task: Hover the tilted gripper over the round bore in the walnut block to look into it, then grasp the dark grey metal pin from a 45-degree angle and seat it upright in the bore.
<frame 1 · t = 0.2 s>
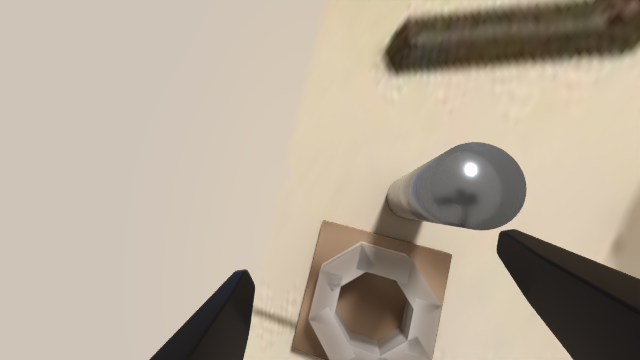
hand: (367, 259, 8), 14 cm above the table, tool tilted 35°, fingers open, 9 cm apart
metal pin: (408, 197, 22), on the table
bore block: (369, 298, 21), on the table
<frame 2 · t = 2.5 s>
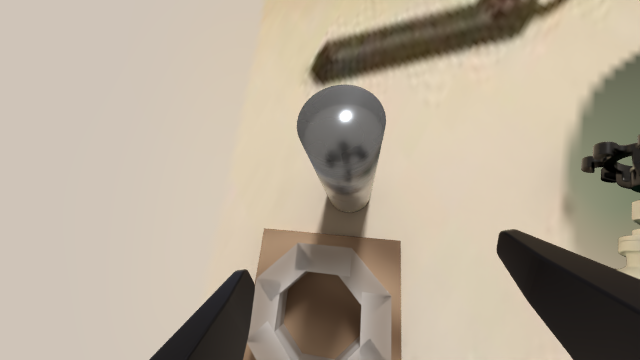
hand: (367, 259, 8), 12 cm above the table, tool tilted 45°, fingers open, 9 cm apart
metal pin: (349, 191, 21), on the table
bore block: (323, 309, 19), on the table
valve: (600, 242, 17), on the table
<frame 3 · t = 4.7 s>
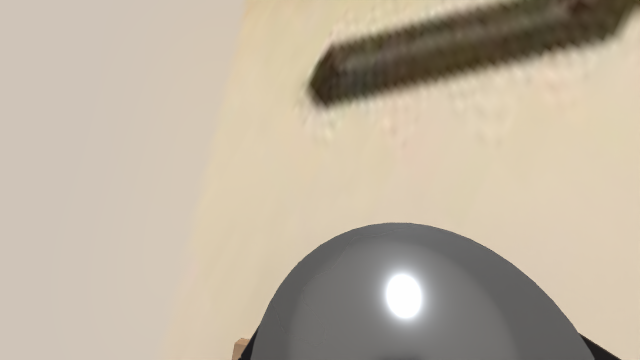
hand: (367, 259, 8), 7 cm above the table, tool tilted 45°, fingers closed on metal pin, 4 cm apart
metal pin: (367, 280, 14), on the table, touching gripper
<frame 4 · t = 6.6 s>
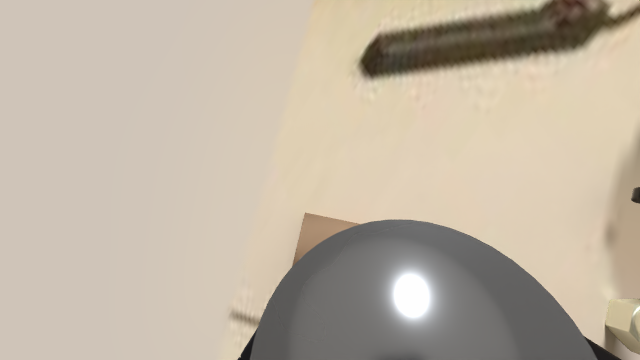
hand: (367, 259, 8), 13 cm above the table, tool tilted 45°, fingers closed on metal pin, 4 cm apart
metal pin: (367, 279, 14), point 7 cm above the table, touching gripper
bore block: (356, 294, 20), on the table
valve: (639, 272, 17), on the table
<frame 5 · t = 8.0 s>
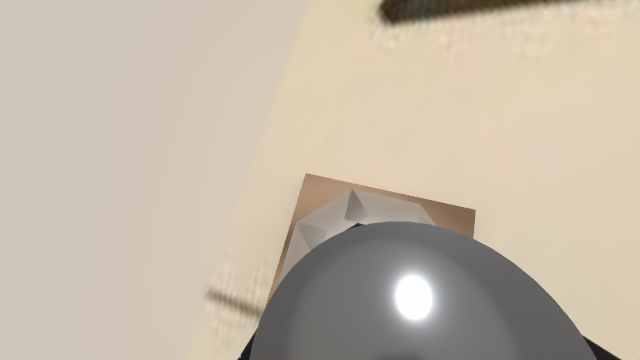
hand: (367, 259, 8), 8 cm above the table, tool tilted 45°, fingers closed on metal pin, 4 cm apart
metal pin: (367, 280, 14), point 2 cm above the table, touching gripper
bore block: (365, 275, 15), on the table
when the fingers open (7 cm above the table, at t = 8.6 s): metal pin stays where it is, resting on bore block.
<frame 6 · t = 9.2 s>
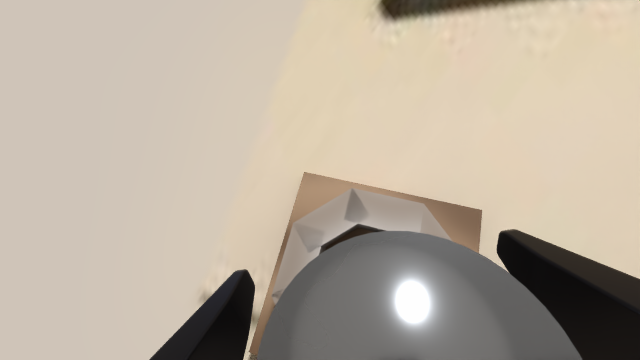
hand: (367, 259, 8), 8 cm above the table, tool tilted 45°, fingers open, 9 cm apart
metal pin: (367, 281, 14), point 1 cm above the table, touching bore block
bore block: (366, 278, 15), on the table
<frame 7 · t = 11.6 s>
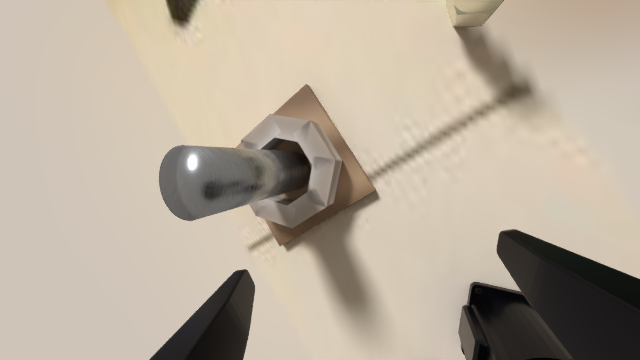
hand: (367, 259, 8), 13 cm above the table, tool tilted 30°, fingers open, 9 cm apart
metal pin: (292, 170, 23), point 1 cm above the table, touching bore block
bore block: (295, 169, 24), on the table
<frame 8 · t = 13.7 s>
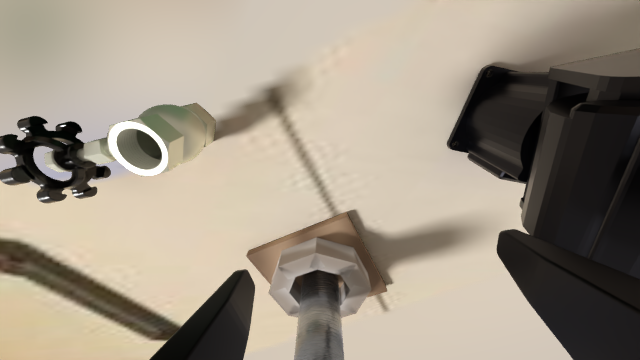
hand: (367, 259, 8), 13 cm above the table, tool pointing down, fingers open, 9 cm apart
metal pin: (320, 274, 26), point 1 cm above the table, touching bore block
bore block: (319, 268, 26), on the table
valve: (156, 133, 20), on the table
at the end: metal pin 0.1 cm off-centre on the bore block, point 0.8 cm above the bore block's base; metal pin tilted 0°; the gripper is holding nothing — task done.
